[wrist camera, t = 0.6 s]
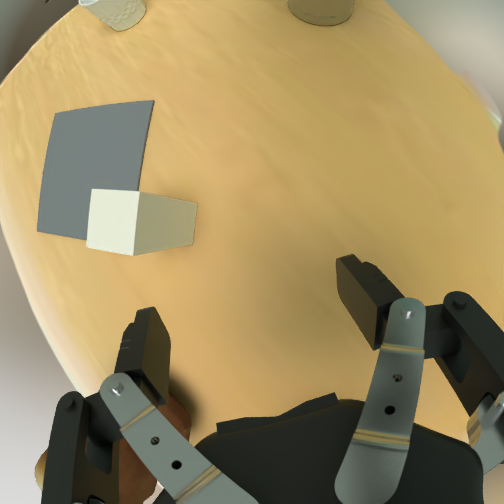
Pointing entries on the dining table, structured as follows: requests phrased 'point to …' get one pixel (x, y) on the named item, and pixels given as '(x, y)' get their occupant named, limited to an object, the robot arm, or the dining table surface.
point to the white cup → (116, 12)
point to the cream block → (138, 222)
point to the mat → (90, 162)
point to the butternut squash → (135, 459)
